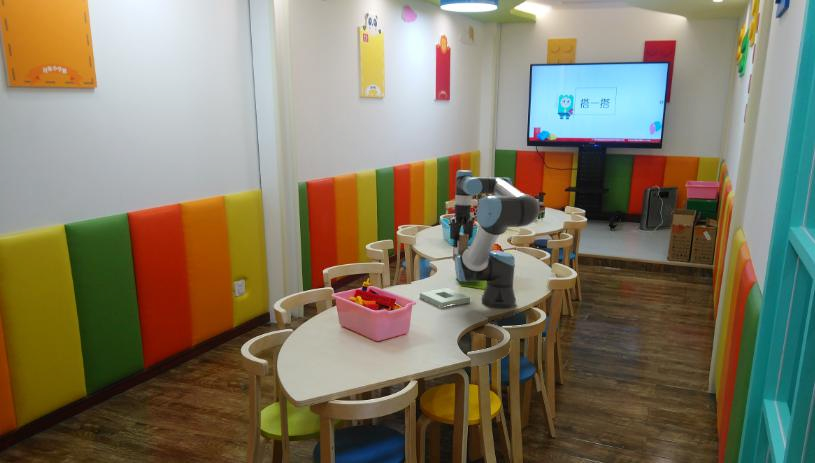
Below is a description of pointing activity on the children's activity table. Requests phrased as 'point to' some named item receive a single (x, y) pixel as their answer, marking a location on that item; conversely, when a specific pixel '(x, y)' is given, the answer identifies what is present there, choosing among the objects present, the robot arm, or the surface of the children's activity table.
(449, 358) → the children's activity table surface
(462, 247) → the walnut peg
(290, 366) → the children's activity table surface
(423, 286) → the children's activity table surface
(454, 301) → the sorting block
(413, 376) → the children's activity table surface
